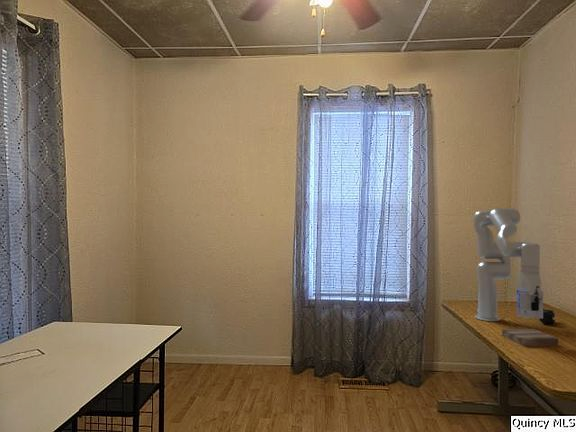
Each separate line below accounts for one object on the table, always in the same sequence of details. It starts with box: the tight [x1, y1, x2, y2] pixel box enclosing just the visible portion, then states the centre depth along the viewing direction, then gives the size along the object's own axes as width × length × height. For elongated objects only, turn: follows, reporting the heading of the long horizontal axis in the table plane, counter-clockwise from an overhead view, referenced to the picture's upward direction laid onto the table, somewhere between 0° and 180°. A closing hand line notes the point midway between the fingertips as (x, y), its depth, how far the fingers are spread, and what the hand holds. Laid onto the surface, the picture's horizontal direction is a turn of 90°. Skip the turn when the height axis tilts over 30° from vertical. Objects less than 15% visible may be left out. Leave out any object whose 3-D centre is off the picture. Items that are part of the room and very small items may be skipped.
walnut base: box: [502, 328, 559, 347], centre depth 194 cm, size 16×16×3 cm
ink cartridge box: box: [516, 289, 544, 319], centre depth 193 cm, size 10×6×14 cm, turn 79°
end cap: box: [538, 307, 556, 326], centre depth 225 cm, size 10×7×7 cm
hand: (529, 308), depth 193 cm, fingers closed on ink cartridge box, 6 cm apart
